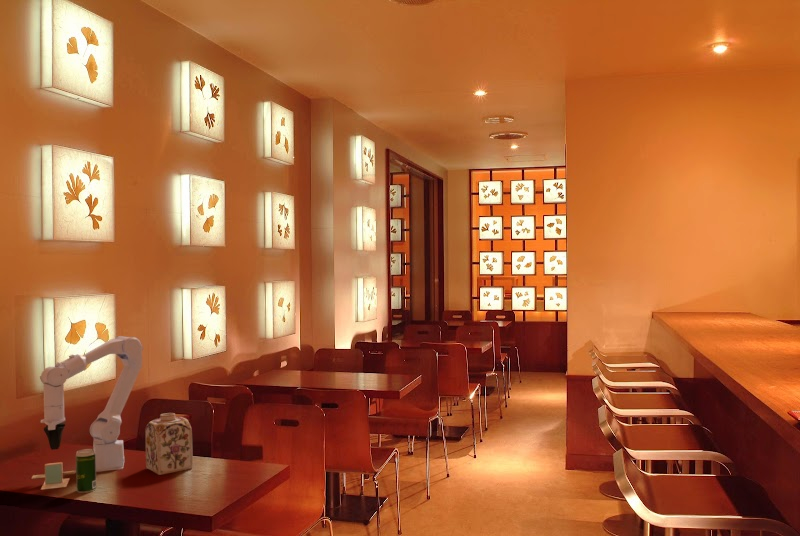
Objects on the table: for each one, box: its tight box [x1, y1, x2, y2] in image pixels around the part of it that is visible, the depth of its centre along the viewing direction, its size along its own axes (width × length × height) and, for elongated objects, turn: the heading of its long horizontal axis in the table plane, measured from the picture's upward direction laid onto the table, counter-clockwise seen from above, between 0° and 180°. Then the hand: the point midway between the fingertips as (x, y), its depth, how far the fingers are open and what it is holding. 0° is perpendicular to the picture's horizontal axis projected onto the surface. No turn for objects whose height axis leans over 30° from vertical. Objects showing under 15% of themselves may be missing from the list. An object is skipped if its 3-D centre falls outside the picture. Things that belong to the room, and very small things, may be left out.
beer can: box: [75, 448, 97, 494], centre depth 214 cm, size 5×5×12 cm
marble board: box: [40, 477, 71, 490], centre depth 221 cm, size 7×10×1 cm
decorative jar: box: [144, 412, 194, 476], centre depth 236 cm, size 12×12×18 cm
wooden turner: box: [30, 470, 76, 480], centre depth 231 cm, size 12×4×1 cm, turn 109°
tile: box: [44, 461, 64, 485], centre depth 222 cm, size 2×5×6 cm, turn 109°
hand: (55, 448), depth 227 cm, fingers open, 2 cm apart
